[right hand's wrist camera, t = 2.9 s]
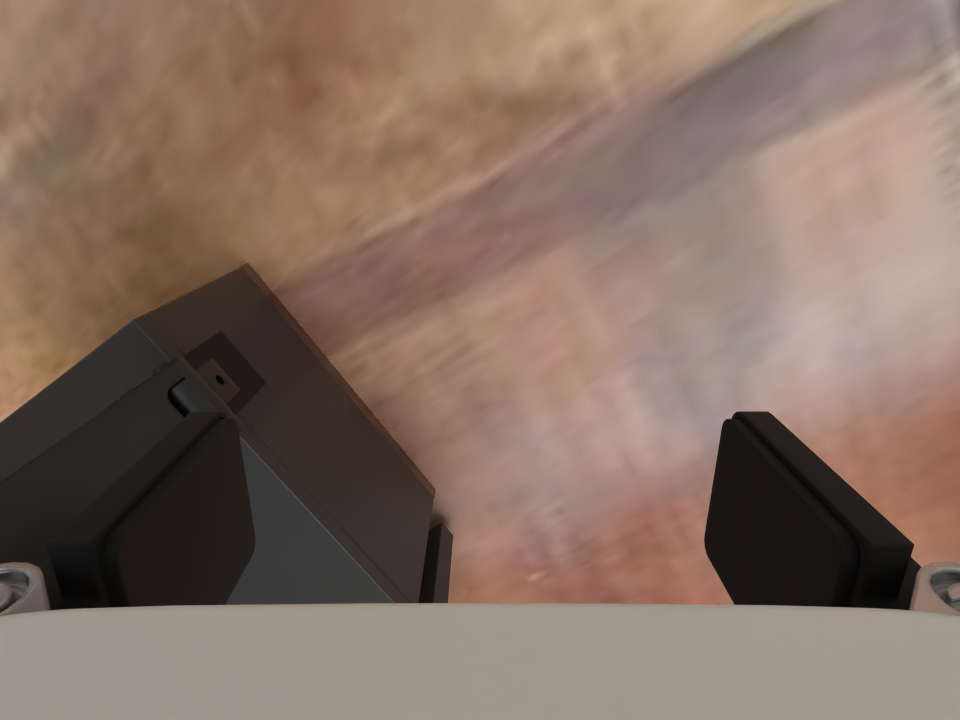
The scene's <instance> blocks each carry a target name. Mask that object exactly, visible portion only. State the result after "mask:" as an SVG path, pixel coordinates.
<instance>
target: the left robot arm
mask: <svg viewBox="0 0 960 720" xmlns="http://www.w3.org/2000/svg"><path fill="white" fill-rule="evenodd" d="M151 374H152V375H151V376H149V379H147V380H146V381H144V382H143V383H141V384H140V385H138V386H137V387H135V388H134V387H133V388H131V389H130V390H128V391H127V392H125V393H124V394H122V395H121V396H120V397H118V398H117V399H118V400H117V401H115V402H114V403H113V404H111V405H110V406H109V407H108V408H107V409H105V410H104V411H102V412H101V413H99V414H98V415H97V416H95V417H94V418H92V419H91V420H89V421H88V422H86V423H85V424H84V425H82V426H81V427H79V428H78V429H76V430H75V431H73V432H72V433H71V434H69V435H68V436H66V437H65V438H63V439H62V440H60V441H59V442H58V443H56V444H55V445H53V446H52V447H50V448H49V449H47V450H46V451H45V452H43V453H42V454H40V455H39V456H37V457H36V458H34V459H33V460H32V461H30V462H29V463H27V464H26V465H24V466H23V467H21V468H20V469H19V470H17V471H16V472H14V473H13V474H11V475H10V476H8V477H7V478H6V479H4V480H3V481H1V482H0V564H3V563H11V562H22V563H30V564H32V565H35V566H37V567H39V566H40V565H41V564H43V563H44V562H45V561H46V560H47V559H48V558H49V553H48V550H47V547H46V544H47V543H48V542H49V541H50V540H51V539H53V538H54V537H55V536H56V535H57V534H58V533H59V532H60V531H61V530H62V529H63V528H65V527H66V526H67V525H68V524H69V523H70V522H71V521H72V520H73V519H74V518H75V517H77V516H78V515H79V514H80V513H81V512H82V511H83V510H84V509H85V508H86V507H87V506H89V505H90V504H91V503H92V502H93V501H94V500H95V499H96V498H97V497H98V496H100V495H101V494H102V493H103V492H104V491H105V490H106V489H107V488H108V487H109V486H110V485H112V484H113V483H114V482H115V481H116V480H117V479H118V478H119V477H120V476H121V475H122V474H124V473H125V472H126V471H127V470H128V469H129V468H130V467H131V466H132V465H133V464H134V463H136V462H137V461H138V460H139V459H140V458H141V457H142V456H143V455H144V454H145V453H147V452H148V451H149V450H150V449H151V448H152V447H153V446H154V445H155V444H156V443H157V442H159V441H160V440H161V439H162V438H163V437H164V436H165V435H166V434H167V433H168V432H169V431H171V430H172V429H173V428H174V427H175V426H176V425H177V424H178V423H179V422H180V421H181V420H183V419H184V418H185V417H186V416H187V415H188V414H189V413H191V412H224V413H225V414H226V415H227V417H228V419H234V420H235V421H236V423H237V426H238V431H239V432H240V431H241V430H242V426H243V425H244V424H243V423H242V422H241V421H240V419H239V418H238V417H237V416H236V414H237V413H238V412H239V411H240V410H241V409H242V408H243V407H244V406H245V405H246V404H247V403H248V402H249V401H250V400H251V399H252V398H253V397H254V396H255V395H256V394H257V393H258V391H259V390H260V389H261V388H262V387H263V386H264V385H265V384H266V382H265V380H264V379H263V378H262V377H261V376H260V375H259V373H258V372H257V371H256V370H255V369H254V368H253V367H252V365H251V364H250V363H249V362H248V361H247V360H246V359H245V357H244V356H243V355H242V354H241V353H240V352H239V350H238V349H237V348H236V347H235V346H234V345H233V344H232V342H231V341H230V340H229V339H228V338H227V337H226V335H225V334H224V333H223V332H222V331H220V332H219V333H217V334H216V335H214V336H213V337H211V338H210V339H208V340H207V341H205V342H203V343H202V344H200V345H199V346H197V347H196V348H194V349H193V350H191V351H190V352H188V353H187V354H185V355H184V356H182V357H181V358H178V357H176V358H174V359H173V360H172V361H170V362H168V361H167V360H166V361H165V362H163V363H162V364H160V365H159V366H157V367H156V368H155V369H153V370H152V371H151Z"/></svg>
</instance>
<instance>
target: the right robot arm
mask: <svg viewBox="0 0 960 720" xmlns="http://www.w3.org/2000/svg"><path fill="white" fill-rule="evenodd" d="M255 540H256V539H255V531H254V524H253V518H252V512H251V506H250V499H249V493H248V487H247V481H246V474H245V468H244V462H243V456H242V449H241V443H240V437H239V431H238V426H237V423H236V421H235V420H234V419H228V417H227V415H226V414H225V413H224V412H191V413H189V414H188V415H187V416H186V417H185V418H184V419H183V420H181V421H180V422H179V423H178V424H177V425H176V426H175V427H174V428H173V429H172V430H171V431H169V432H168V433H167V434H166V435H165V436H164V437H163V438H162V439H161V440H160V441H159V442H157V443H156V444H155V445H154V446H153V447H152V448H151V449H150V450H149V451H148V452H147V453H145V454H144V455H143V456H142V457H141V458H140V459H139V460H138V461H137V462H136V463H134V464H133V465H132V466H131V467H130V468H129V469H128V470H127V471H126V472H125V473H124V474H122V475H121V476H120V477H119V478H118V479H117V480H116V481H115V482H114V483H113V484H112V485H110V486H109V487H108V488H107V489H106V490H105V491H104V492H103V493H102V494H101V495H100V496H98V497H97V498H96V499H95V500H94V501H93V502H92V503H91V504H90V505H89V506H87V507H86V508H85V509H84V510H83V511H82V512H81V513H80V514H79V515H78V516H77V517H75V518H74V519H73V520H72V521H71V522H70V523H69V524H68V525H67V526H66V527H65V528H63V529H62V530H61V531H60V532H59V533H58V534H57V535H56V536H55V537H54V538H53V539H51V540H50V541H49V542H48V543H47V544H46V547H47V550H48V553H49V558H48V559H47V560H46V561H45V562H44V563H43V564H41V565H40V566H39V567H37V566H35V565H32V564H30V563H22V562H11V563H3V564H0V720H960V564H957V563H949V562H938V563H930V564H928V565H925V566H923V567H921V566H920V565H919V564H917V563H916V562H915V561H914V560H913V559H912V558H911V553H912V550H913V547H914V544H913V543H912V542H911V541H910V540H909V539H907V538H906V537H905V536H904V535H903V534H902V533H901V532H900V531H899V530H898V529H897V528H895V527H894V526H893V525H892V524H891V523H890V522H889V521H888V520H887V519H886V518H885V517H883V516H882V515H881V514H880V513H879V512H878V511H877V510H876V509H875V508H874V507H873V506H871V505H870V504H869V503H868V502H867V501H866V500H865V499H864V498H863V497H862V496H860V495H859V494H858V493H857V492H856V491H855V490H854V489H853V488H852V487H851V486H850V485H848V484H847V483H846V482H845V481H844V480H843V479H842V478H841V477H840V476H839V475H838V474H836V473H835V472H834V471H833V470H832V469H831V468H830V467H829V466H828V465H827V464H826V463H824V462H823V461H822V460H821V459H820V458H819V457H818V456H817V455H816V454H815V453H813V452H812V451H811V450H810V449H809V448H808V447H807V446H806V445H805V444H804V443H803V442H801V441H800V440H799V439H798V438H797V437H796V436H795V435H794V434H793V433H792V432H791V431H789V430H788V429H787V428H786V427H785V426H784V425H783V424H782V423H781V422H780V421H779V420H777V419H776V418H775V417H774V416H773V415H772V414H771V413H769V412H736V413H735V414H734V415H733V417H732V419H726V420H725V421H724V423H723V426H722V431H721V437H720V443H719V449H718V456H717V462H716V468H715V474H714V481H713V487H712V493H711V499H710V506H709V512H708V518H707V524H706V531H705V539H704V541H705V549H706V553H707V555H708V558H709V559H710V561H711V563H712V565H713V567H714V568H715V570H716V572H717V574H718V576H719V577H720V579H721V581H722V583H723V585H724V586H725V588H726V590H727V592H728V594H729V595H730V597H731V599H732V601H733V603H734V604H735V605H695V604H583V603H355V604H266V605H225V604H226V603H227V601H228V599H229V597H230V595H231V594H232V592H233V590H234V588H235V586H236V585H237V583H238V581H239V579H240V577H241V576H242V574H243V572H244V570H245V568H246V567H247V565H248V563H249V561H250V559H251V558H252V555H253V553H254V549H255Z"/></svg>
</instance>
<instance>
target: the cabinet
mask: <svg viewBox="0 0 960 720" xmlns="http://www.w3.org/2000/svg"><path fill="white" fill-rule="evenodd" d="M220 331H222V332H223V333H224V334H225V335H226V337H227V338H228V339H229V340H230V341H231V342H232V344H233V345H234V346H235V347H236V348H237V349H238V350H239V352H240V353H241V354H242V355H243V356H244V357H245V359H246V360H247V361H248V362H249V363H250V364H251V365H252V367H253V368H254V369H255V370H256V371H257V372H258V373H259V375H260V376H261V377H262V378H263V379H264V380H265V382H266V384H265V385H264V386H263V387H262V388H261V389H260V390H259V391H258V393H257V394H256V395H255V396H254V397H253V398H252V399H251V400H250V401H249V402H248V403H247V404H246V405H245V406H244V407H243V408H242V409H241V410H240V411H239V412H238V413H237V414H236V416H237V417H238V418H239V419H240V421H241V422H242V423H243V424H244V425H243V426H242V430H241V431H240V432H239V437H240V443H241V449H242V456H243V462H244V468H245V474H246V481H247V487H248V493H249V499H250V506H251V512H252V518H253V524H254V531H255V539H256V540H255V549H254V553H253V555H252V558H251V559H250V561H249V563H248V565H247V567H246V568H245V570H244V572H243V574H242V576H241V577H240V579H239V581H238V583H237V585H236V586H235V588H234V590H233V592H232V594H231V595H230V597H229V599H228V601H227V603H226V604H225V605H266V604H355V603H418V601H419V594H420V587H421V580H422V573H423V567H424V560H425V553H426V546H427V539H428V532H429V525H430V518H431V511H432V504H433V498H434V496H435V489H434V487H433V486H432V485H431V484H430V483H429V481H428V480H427V479H426V478H425V477H424V475H423V474H422V473H421V472H420V471H419V469H418V468H417V467H416V466H415V464H414V463H413V462H412V461H411V460H410V458H409V457H408V456H407V455H406V454H405V452H404V451H403V450H402V449H401V448H400V446H399V445H398V444H397V443H396V442H395V440H394V439H393V438H392V437H391V435H390V434H389V433H388V432H387V431H386V429H385V428H384V427H383V426H382V425H381V423H380V422H379V421H378V420H377V419H376V417H375V416H374V415H373V414H372V413H371V411H370V410H369V409H368V408H367V406H366V405H365V404H364V403H363V402H362V400H361V399H360V398H359V397H358V396H357V394H356V393H355V392H354V391H353V390H352V388H351V387H350V386H349V385H348V384H347V382H346V381H345V380H344V379H343V377H342V376H341V375H340V374H339V373H338V371H337V370H336V369H335V368H334V367H333V365H332V364H331V363H330V362H329V361H328V359H327V358H326V357H325V356H324V355H323V353H322V352H321V351H320V350H319V348H318V347H317V346H316V345H315V344H314V342H313V341H312V340H311V339H310V338H309V336H308V335H307V334H306V333H305V332H304V330H303V329H302V328H301V327H300V326H299V324H298V323H297V322H296V321H295V319H294V318H293V317H292V316H291V315H290V313H289V312H288V311H287V310H286V309H285V307H284V306H283V305H282V304H281V303H280V301H279V300H278V299H277V298H276V297H275V295H274V294H273V293H272V292H271V290H270V289H269V288H268V287H267V286H266V284H265V283H264V282H263V281H262V280H261V278H260V277H259V276H258V275H257V274H256V272H255V271H254V270H253V269H252V268H251V266H250V265H249V264H248V263H247V264H245V265H243V266H241V267H240V268H238V269H236V270H234V271H232V272H230V273H228V274H226V275H224V276H222V277H220V278H218V279H216V280H214V281H212V282H210V283H208V284H206V285H204V286H202V287H200V288H198V289H196V290H193V291H191V292H189V293H187V294H185V295H183V296H181V297H179V298H177V299H175V300H173V301H171V302H169V303H167V304H165V305H163V306H161V307H159V308H157V309H155V310H153V311H151V312H149V313H147V314H145V315H142V316H140V317H138V318H136V319H134V320H132V321H131V322H130V323H129V324H127V325H126V326H125V327H123V328H122V329H121V330H119V331H118V332H117V333H116V334H114V335H113V336H112V337H110V338H109V339H108V340H107V341H105V342H104V343H103V344H101V345H100V346H99V347H98V348H96V349H95V350H94V351H92V352H91V353H90V354H89V355H87V356H86V357H85V358H83V359H82V360H81V361H79V362H78V363H77V364H76V365H74V366H73V367H72V368H70V369H69V370H68V371H67V372H65V373H64V374H63V375H61V376H60V377H59V378H58V379H56V380H55V381H54V382H52V383H51V384H50V385H48V386H47V387H46V388H45V389H43V390H42V391H41V392H39V393H38V394H37V395H36V396H34V397H33V398H32V399H30V400H29V401H28V402H27V403H25V404H24V405H23V406H21V407H20V408H19V409H17V410H16V411H15V412H14V413H12V414H11V415H10V416H8V417H7V418H6V419H5V420H3V421H2V422H1V423H0V482H1V481H3V480H4V479H6V478H7V477H8V476H10V475H11V474H13V473H14V472H16V471H17V470H19V469H20V468H21V467H23V466H24V465H26V464H27V463H29V462H30V461H32V460H33V459H34V458H36V457H37V456H39V455H40V454H42V453H43V452H45V451H46V450H47V449H49V448H50V447H52V446H53V445H55V444H56V443H58V442H59V441H60V440H62V439H63V438H65V437H66V436H68V435H69V434H71V433H72V432H73V431H75V430H76V429H78V428H79V427H81V426H82V425H84V424H85V423H86V422H88V421H89V420H91V419H92V418H94V417H95V416H97V415H98V414H99V413H101V412H102V411H104V410H105V409H107V408H108V407H109V406H110V405H111V404H113V403H114V402H115V401H117V400H118V399H117V398H118V397H120V396H121V395H122V394H124V393H125V392H127V391H128V390H130V389H131V388H133V387H134V388H135V387H137V386H138V385H140V384H141V383H143V382H144V381H146V380H147V379H149V376H151V375H152V374H151V371H152V370H153V369H155V368H156V367H157V366H159V365H160V364H162V363H163V362H165V361H166V360H167V361H168V362H170V361H172V360H173V359H174V358H176V357H178V358H181V357H182V356H184V355H185V354H187V353H188V352H190V351H191V350H193V349H194V348H196V347H197V346H199V345H200V344H202V343H203V342H205V341H207V340H208V339H210V338H211V337H213V336H214V335H216V334H217V333H219V332H220Z"/></svg>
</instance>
